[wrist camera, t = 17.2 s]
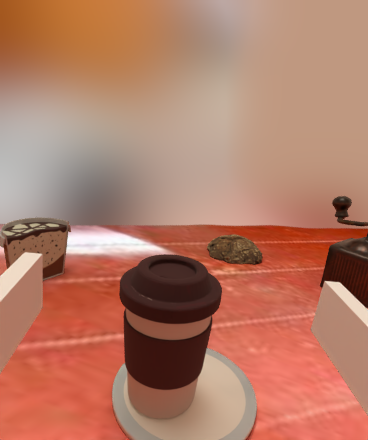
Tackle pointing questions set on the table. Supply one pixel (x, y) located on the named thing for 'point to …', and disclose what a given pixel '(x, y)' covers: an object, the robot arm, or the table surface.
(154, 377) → the coffee cup
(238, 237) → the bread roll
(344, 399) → the table surface
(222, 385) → the saucer
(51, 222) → the food container
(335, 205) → the manual coffee grinder
